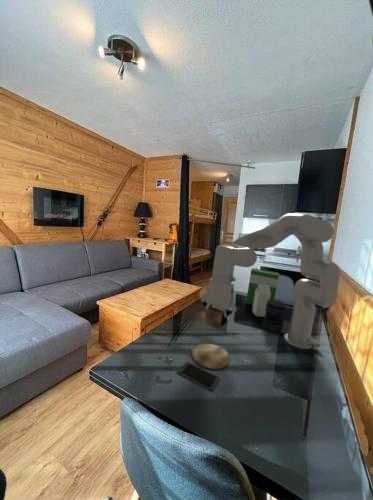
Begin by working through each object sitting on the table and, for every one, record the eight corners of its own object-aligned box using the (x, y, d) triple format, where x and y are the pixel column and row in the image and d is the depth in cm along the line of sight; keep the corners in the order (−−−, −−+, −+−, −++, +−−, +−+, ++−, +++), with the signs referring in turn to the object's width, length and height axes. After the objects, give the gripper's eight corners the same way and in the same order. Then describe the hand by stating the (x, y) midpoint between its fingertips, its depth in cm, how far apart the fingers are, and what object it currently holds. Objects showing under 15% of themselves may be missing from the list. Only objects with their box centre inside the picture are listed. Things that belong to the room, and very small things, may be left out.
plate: (235, 355, 90) (235, 353, 90) (219, 375, 77) (219, 372, 77) (203, 341, 98) (203, 339, 98) (184, 356, 85) (185, 354, 85)
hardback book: (245, 303, 153) (251, 269, 149) (246, 299, 160) (251, 268, 156) (272, 309, 147) (278, 274, 144) (272, 305, 154) (278, 272, 151)
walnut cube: (225, 323, 86) (227, 309, 85) (218, 329, 81) (221, 314, 80) (211, 318, 90) (213, 304, 89) (204, 323, 85) (206, 308, 84)
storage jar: (261, 329, 115) (265, 303, 113) (263, 323, 124) (268, 298, 122) (281, 336, 111) (286, 308, 109) (282, 328, 119) (287, 303, 117)
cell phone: (186, 362, 82) (186, 361, 82) (220, 379, 75) (221, 377, 75) (175, 373, 76) (176, 371, 76) (212, 393, 69) (212, 391, 69)
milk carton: (266, 317, 132) (272, 287, 129) (255, 316, 132) (260, 286, 130) (262, 312, 139) (267, 284, 137) (251, 311, 139) (256, 282, 137)
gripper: (247, 281, 81) (239, 326, 84) (206, 271, 91) (201, 312, 93) (240, 285, 75) (232, 333, 78) (197, 273, 84) (192, 317, 87)
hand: (215, 321), depth 85 cm, fingers closed on walnut cube, 6 cm apart
